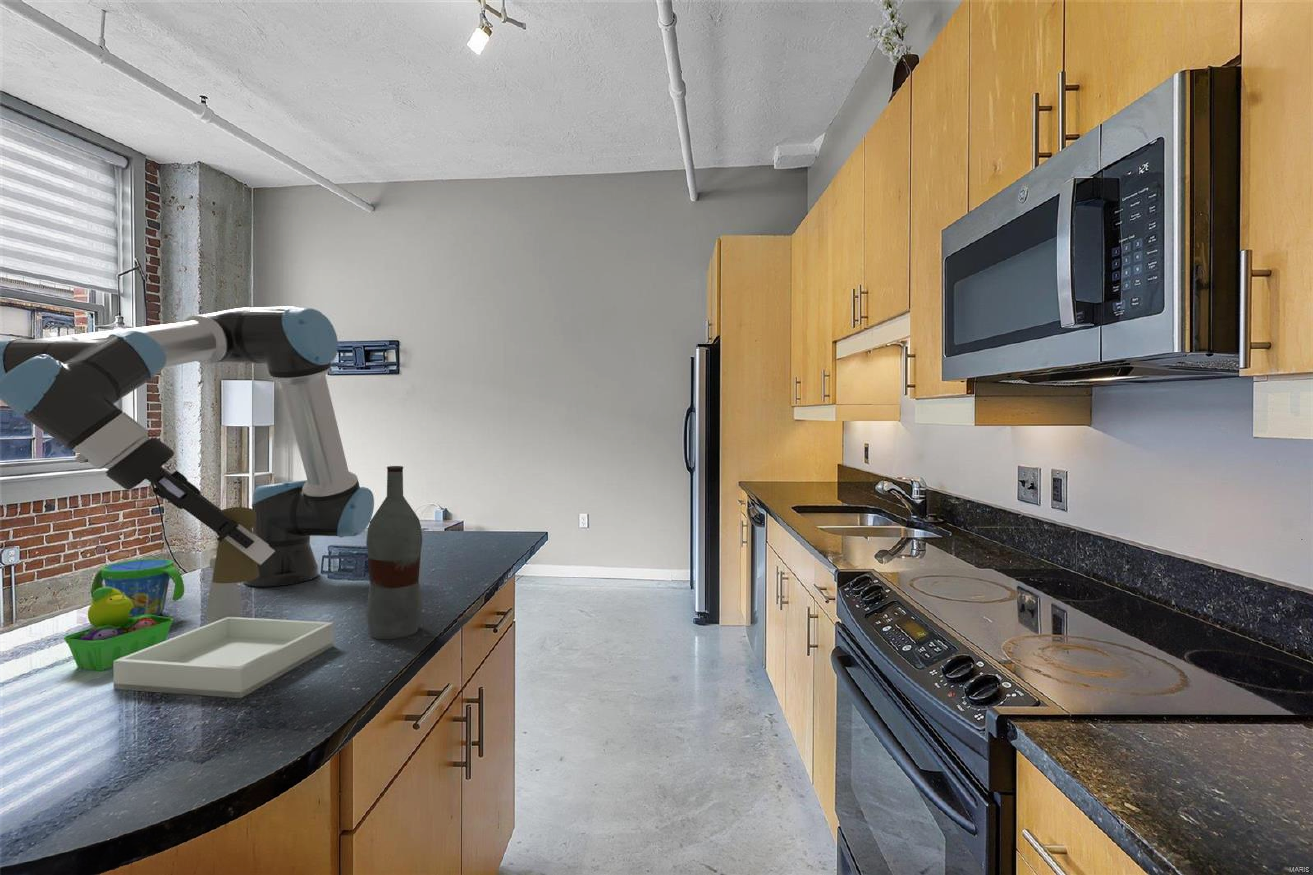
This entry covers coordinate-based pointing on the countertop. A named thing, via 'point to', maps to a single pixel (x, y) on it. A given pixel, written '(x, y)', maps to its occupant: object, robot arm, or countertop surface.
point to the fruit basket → (114, 631)
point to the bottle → (394, 564)
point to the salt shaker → (223, 600)
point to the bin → (224, 657)
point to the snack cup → (142, 583)
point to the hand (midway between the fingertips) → (264, 554)
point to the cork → (235, 552)
